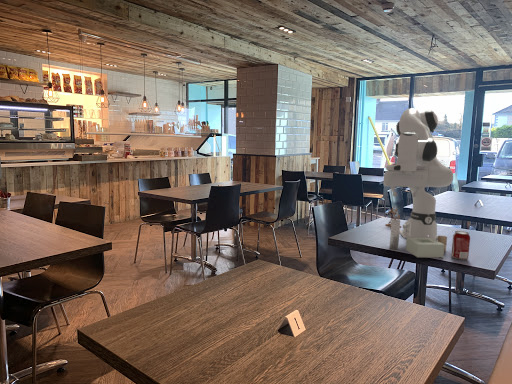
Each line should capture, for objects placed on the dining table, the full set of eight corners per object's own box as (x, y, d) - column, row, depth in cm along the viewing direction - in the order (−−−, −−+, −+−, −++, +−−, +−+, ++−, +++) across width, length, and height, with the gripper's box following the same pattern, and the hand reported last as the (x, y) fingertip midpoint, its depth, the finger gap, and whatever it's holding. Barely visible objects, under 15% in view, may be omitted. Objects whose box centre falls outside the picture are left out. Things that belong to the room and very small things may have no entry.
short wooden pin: (434, 249, 190) (436, 235, 189) (443, 249, 190) (444, 235, 189) (439, 251, 186) (440, 237, 185) (447, 252, 186) (448, 237, 185)
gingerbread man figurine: (401, 227, 237) (403, 208, 235) (397, 228, 235) (399, 208, 233) (389, 225, 244) (390, 206, 242) (385, 225, 242) (386, 206, 240)
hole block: (405, 249, 188) (406, 237, 187) (430, 250, 189) (431, 237, 188) (417, 257, 176) (418, 244, 175) (443, 257, 177) (444, 244, 176)
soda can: (470, 261, 172) (472, 234, 171) (453, 259, 174) (456, 233, 172) (465, 256, 179) (467, 231, 177) (449, 255, 180) (451, 230, 179)
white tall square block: (388, 247, 191) (390, 219, 190) (396, 247, 192) (398, 219, 190) (391, 249, 187) (393, 221, 186) (399, 249, 188) (401, 221, 186)
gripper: (424, 167, 187) (422, 196, 188) (382, 166, 185) (381, 195, 187) (431, 168, 181) (429, 197, 182) (388, 166, 179) (386, 196, 180)
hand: (404, 196), depth 184 cm, fingers open, 8 cm apart
